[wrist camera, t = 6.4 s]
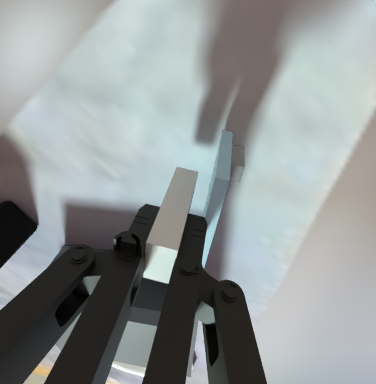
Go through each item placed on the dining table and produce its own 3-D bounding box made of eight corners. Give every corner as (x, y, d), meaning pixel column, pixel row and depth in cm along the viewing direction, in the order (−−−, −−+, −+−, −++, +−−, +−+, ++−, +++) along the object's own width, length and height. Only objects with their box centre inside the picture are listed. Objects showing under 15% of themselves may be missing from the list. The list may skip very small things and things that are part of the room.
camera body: (75, 293, 35) (40, 353, 29) (48, 242, 28) (-5, 306, 22) (199, 314, 32) (189, 385, 26) (200, 263, 26) (188, 342, 20)
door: (219, 127, 16) (209, 179, 11) (244, 132, 16) (245, 187, 11) (189, 261, 25) (176, 323, 20) (205, 265, 25) (196, 328, 20)
